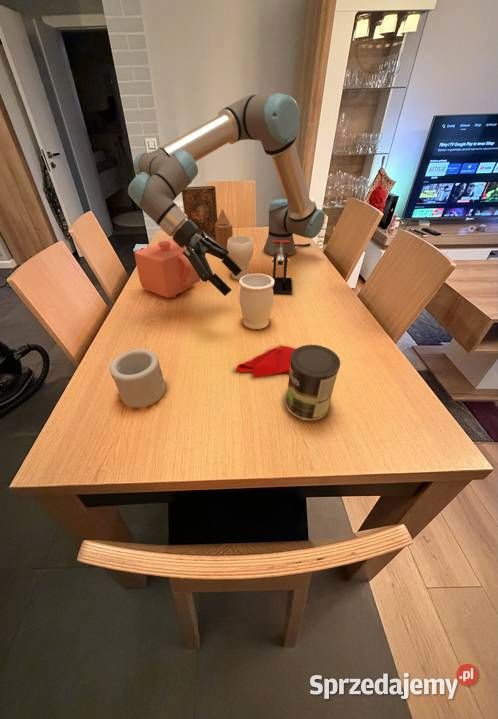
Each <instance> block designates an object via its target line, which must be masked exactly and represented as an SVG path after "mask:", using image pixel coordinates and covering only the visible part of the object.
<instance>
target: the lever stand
mask: <svg viewBox="0 0 498 719" xmlns="http://www.w3.org/2000/svg"><path fill="white" fill-rule="evenodd" d="M271 260H272V261H271V262H273V265H272V267H273V268H272V276H271V277H272V278H273V279H274V286H273V295H282V296H283V295H285V296H287V295H288V296H292V294H293V286H292V284H293V283H292V277H287V270H288V263H289V261H290V258H289V256H288V253H285V257H284V261H283V272H282V276H280V277H279V276H276V273H277V272H276V271H277V260H278V257H277V253H274V256H273V257H272V258H271Z"/></svg>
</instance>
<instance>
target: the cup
mask: <svg viewBox="0 0 498 719" xmlns="http://www.w3.org/2000/svg"><path fill="white" fill-rule="evenodd" d="M227 250H228V251H229V253H228V254H227V255H228V256H229V257H230V258H231V259H232V260H233V261H234V262H235V263H236V264H237V266H238V267H239V268H240V269H241V270H242V271H241V272H240V273H239V274H238V275H237V276H235V275H234V274H233V273H232V272H231V278H232V279H234V280H236V281H237V280H238V281H239V280H240V278H241V277H243V276H245V275H248V274H251V273H250V262H251V260H252V258H253V255H254V242H253V239H252V237H250V236H247V235H235V236H233V237H230V238H229V239H228V242H227Z"/></svg>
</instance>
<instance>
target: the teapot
mask: <svg viewBox="0 0 498 719" xmlns="http://www.w3.org/2000/svg"><path fill="white" fill-rule="evenodd" d="M185 249H186V246H184V247H183V248H181V247H180V246H179V245H178V244H177V243H176V242H175V241H174V240H173V239H172V240H171V239H167V240H161V241H159V242H158V243H155V244H152V245H148V246H147V247H144V248H142V249H139V250H136V251H134V258H135V264H136V270H137V273H138V274H137V275H138V279H139V282H140V285H141V287H142V289H145V290H146V291H149V292H152V293H154V294H157V295H159V296H161V297H164V298H167V299H169V298H171V299H172V298H175V297H177V295H178V294H180V293H182V292H183V291H185V290H190V289H192V288H193V286H194V285H196V284H198V283H200V282H201V279H200V277H199V276H198V274H197V273H196V271H195V269H194V268H193V266H192V265H191V263H190V261H189V260H188V258H187V257H186V256H185V255H184V254H183V251H184V250H185Z"/></svg>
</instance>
